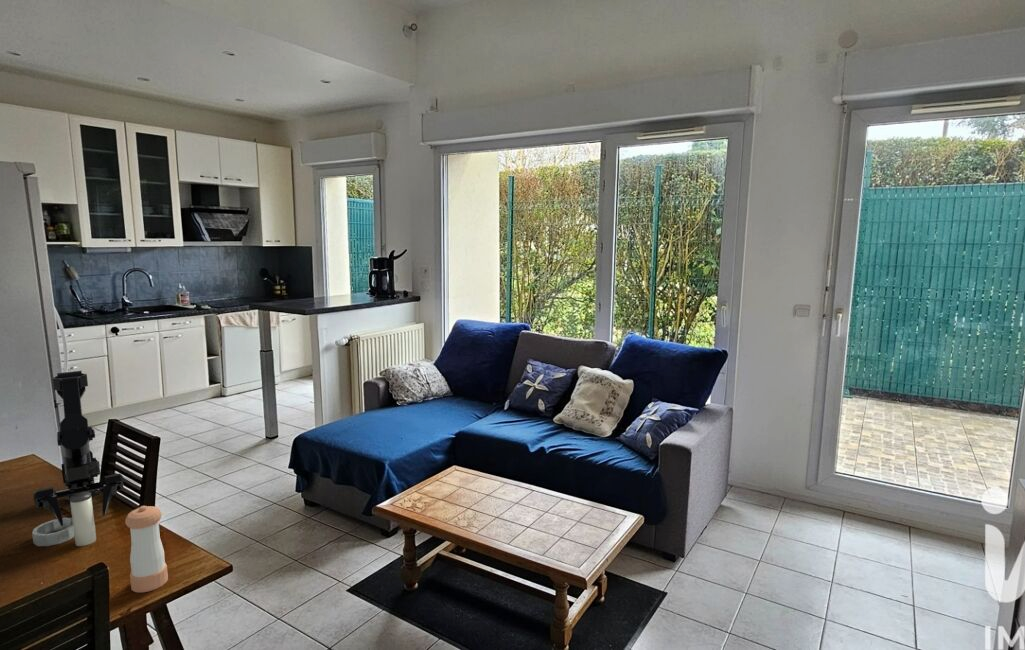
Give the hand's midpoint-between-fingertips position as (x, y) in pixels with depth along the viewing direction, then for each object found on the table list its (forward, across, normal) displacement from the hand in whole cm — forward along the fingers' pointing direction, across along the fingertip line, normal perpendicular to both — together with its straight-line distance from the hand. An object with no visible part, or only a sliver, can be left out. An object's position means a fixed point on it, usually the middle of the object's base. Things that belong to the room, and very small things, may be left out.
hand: (83, 520), depth 146 cm
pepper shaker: (+26, +11, -16) cm, 32 cm away
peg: (+4, 0, +6) cm, 7 cm away
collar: (-2, -6, +11) cm, 13 cm away
